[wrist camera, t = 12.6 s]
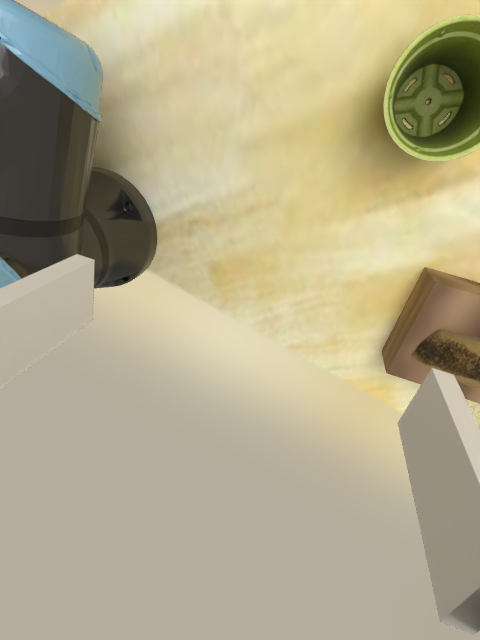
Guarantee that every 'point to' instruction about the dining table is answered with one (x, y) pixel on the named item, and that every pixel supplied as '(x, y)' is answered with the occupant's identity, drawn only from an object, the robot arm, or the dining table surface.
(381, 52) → the dining table surface
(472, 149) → the plant pot
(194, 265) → the dining table surface
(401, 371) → the walnut block
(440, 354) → the rock
